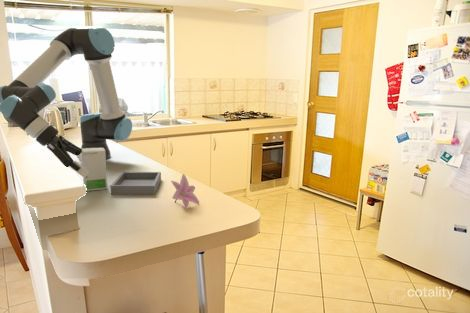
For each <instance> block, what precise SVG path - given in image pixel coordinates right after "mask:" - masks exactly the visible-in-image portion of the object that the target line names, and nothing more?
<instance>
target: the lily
mask: <svg viewBox="0 0 470 313" xmlns="http://www.w3.org/2000/svg"><path fill="white" fill-rule="evenodd" d="M170 182H171V183H172V186H174V188H175V190H176V191H175V192H174V193H173V195H172V199H173V200H174V203H176V202H177V200H179V201H182V204H183V205H184V208H185V209H184V210H188V207H189V204H190V202H191V203H193V204H196V205H200V204H199V203H200V200H199V199H198V197H197V196H196V195H195V193H194V192H195V189H196V187H195V186H194V185H189V184H190V183H189V180H188V178H187V177H186V175H185V173H183V174H182V175H181V179H180V182H178V181H175V180H171V181H170Z"/></svg>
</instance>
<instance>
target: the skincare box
mask: <svg viewBox="0 0 470 313" xmlns="http://www.w3.org/2000/svg"><path fill="white" fill-rule="evenodd" d="M81 150H82V161H81V162H82V166H83V167H84V168H85V169H86V170H88V171H89V172H90V173H89V174H88V175H87V176H86V177H85V178H84V177H82V178H83V185H84V184H85V185H86V188H87V191H86V192H89V191H90V190H91V191H101V190H102V191H103V190H107V189H108V179H107V178H108V175H107V159H106V153H105V149H104V148H82V149H81Z"/></svg>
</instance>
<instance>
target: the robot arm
mask: <svg viewBox="0 0 470 313" xmlns="http://www.w3.org/2000/svg"><path fill="white" fill-rule="evenodd" d="M115 46H116V45H115V40H114V36H113V34H112V33H111V32H110V31H109V30H108V29H107V28H105V27H102V26H97V25H94V26H90V25H89V26H72V27H70V28H68V29H66V30H64V31H62V32H61V33H60V34H58V35H57V36H56V37H54V39H52V40H51V41H50V42H49V47H48V48H47V49H46V50H45V51H43V53H41V55H39V56H38V57H37V58H36V59H35V60H34V61H33V62H32V63H31V64H30V65H29V66H28V67H27V68H26V69H25V70H23V71H22V72H21V73H20V74H19V75H18V76H17V77H16V78H14V80H12V82H10V84H8V85H2V86H0V113H1V114H2V115H3V116H4V117H6V119H8V120H9V121H11V122H12V123H13V124H15V125H16V126H17V127H18V128H19V129H21V130H23V131H24V133H26V135H27V136H30V137H32V139H35V140H36V142H37V143H39V144H40V145H41V146H43V147H46V148H47V149H48V150H49V151H51V153H52V154H53V155H54V156H55V157H56V158H57V159H58V160H59V161H60V162H61V164H63V166H64V167H65V166H66V167H68V168H70V169H71V170H73V171H75V172H76V173H77V174H78V175H80V177H82V178H83V177H84V178H85V177H86V176H87V175H88V174H89V173H90V172H89V171H88V170H86V169H85V168H84V167H83V165H81V164H80V163H79V162H78V161H76V160H74V159H73V158H72V156H71V155H70V154H72V155H73V156H76V158H77V159H78V160H80V161H81V162H82V150H81V149H82V148H104V149H105V153H106V160H107V159H110V158H111V156H112V155H111V150H110V147H109V145H108V143H107V140H110V141H117V142H118V141H127V140H128V139H129V137H130V136H131V134H132V132H133V122H132V120H131V119H130V118H128V117H126V114H125V111H124V110H122V109H121V106H120V102H119V98H118V92H117V88H116V85H115V80H114V75H113V72H112V71H113V70H112V66H111V63H110V60H111V59H112V57H113V56H112V54H113V53H114V51H115ZM75 55H83V57H84V61H85V62H87V63H88V64H89V66H90V71H91V74H92V78H93V83H94V85H95V89H96V93H97V98H98V101H99V105H100V110H101V112H94V113H87V114H82V115H81V116H80V118H79V120H80V122H79V125H80V133H81V147H79V146H77V145H76V144H74V143H73V142H71V141H69V140H68V139H66V138H65V137H63V135H59V136H58V134H59V130H58V129H56V128H55V126H53V125H50V123H49V121H47V120H46V119H44V118H43V117H42V116H41V115H40V114H38V113H39V112H41V111H42V110H43V109H44V108H46V107H47V106H49V105H50V104H51V103H52V102H53V101H54V100H56V96H57V94H56V91H55V90H54V88H53V87H52V86H51V85H50V84H48V83H45V80H47V79H48V78H49V77H50V76H51V74H52V73H54V72H55V71H56V69H58V67H60V65H62V64H63V62H64V61H65V60H66V61H67V60H70V59H71V58H72V57H74V56H75ZM66 167H65V168H66Z"/></svg>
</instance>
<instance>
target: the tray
mask: <svg viewBox="0 0 470 313" xmlns="http://www.w3.org/2000/svg"><path fill="white" fill-rule="evenodd" d="M161 181H162V172H161V171H122V172H121V173H120V174H119V175H118V176H117V178H115V180H114V181H113V182H112V184H111V185H110V195H112V196H124V195H125V196H126V195H127V196H129V195H131V196H135V195H136V196H139V195H140V196H143V195H144V196H146V195H148V196H149V195H150V196H151V195H153V196H155V195H156V192H157V191H158V188H159V186H160V183H161Z"/></svg>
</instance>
